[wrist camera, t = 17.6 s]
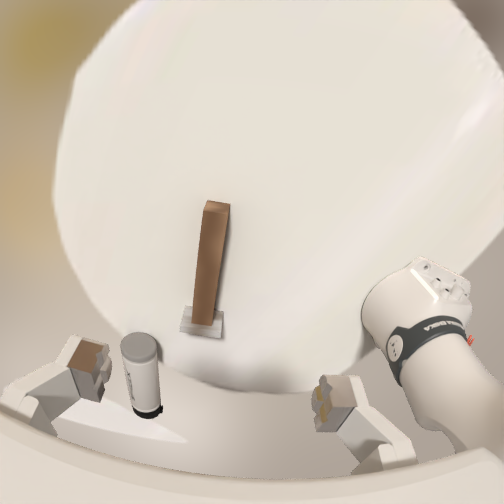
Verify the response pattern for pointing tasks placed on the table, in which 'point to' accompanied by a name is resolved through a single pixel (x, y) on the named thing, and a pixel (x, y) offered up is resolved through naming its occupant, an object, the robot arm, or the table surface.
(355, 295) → the table surface
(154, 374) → the travel mug
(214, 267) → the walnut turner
